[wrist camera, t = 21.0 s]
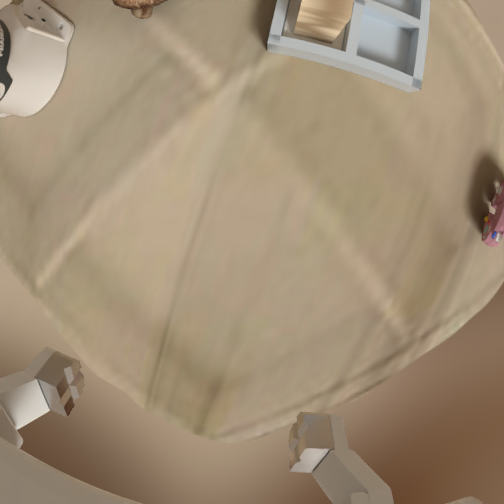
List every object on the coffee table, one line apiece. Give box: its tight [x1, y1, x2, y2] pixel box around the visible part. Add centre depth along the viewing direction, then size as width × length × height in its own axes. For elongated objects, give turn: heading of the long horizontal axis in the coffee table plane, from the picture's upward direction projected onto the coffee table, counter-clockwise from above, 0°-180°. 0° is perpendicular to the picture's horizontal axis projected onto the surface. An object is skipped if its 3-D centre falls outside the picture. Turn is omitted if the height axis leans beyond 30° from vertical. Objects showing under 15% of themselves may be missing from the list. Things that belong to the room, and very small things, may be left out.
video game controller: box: [482, 181, 504, 247], centre depth 32 cm, size 10×5×7 cm, turn 164°
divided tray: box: [267, 0, 430, 93], centre depth 25 cm, size 18×18×4 cm
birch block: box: [293, 0, 354, 44], centre depth 22 cm, size 4×4×9 cm
